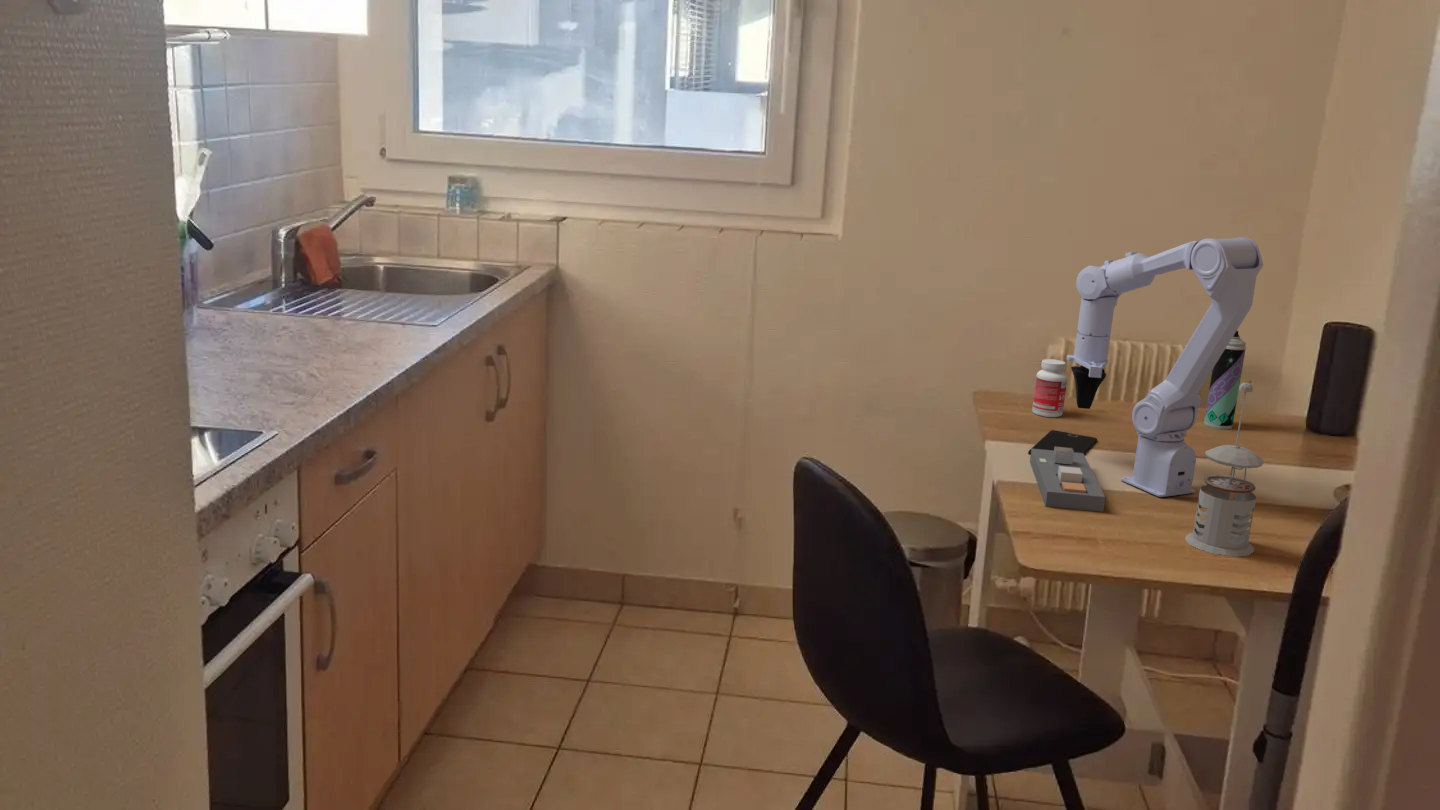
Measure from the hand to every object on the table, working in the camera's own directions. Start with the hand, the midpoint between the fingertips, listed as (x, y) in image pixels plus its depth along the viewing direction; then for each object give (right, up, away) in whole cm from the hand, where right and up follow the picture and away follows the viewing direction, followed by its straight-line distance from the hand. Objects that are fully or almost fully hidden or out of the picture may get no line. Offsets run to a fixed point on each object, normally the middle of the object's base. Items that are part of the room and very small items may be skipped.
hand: (1083, 407), depth 225 cm
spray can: (+36, -4, +30) cm, 47 cm away
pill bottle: (+2, -2, +31) cm, 32 cm away
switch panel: (-7, -13, -14) cm, 20 cm away
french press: (+10, -20, -36) cm, 43 cm away
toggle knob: (-6, -9, -10) cm, 15 cm away
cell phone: (-1, -8, +9) cm, 12 cm away
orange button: (-8, -15, -23) cm, 28 cm away
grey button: (-8, -13, -18) cm, 23 cm away
